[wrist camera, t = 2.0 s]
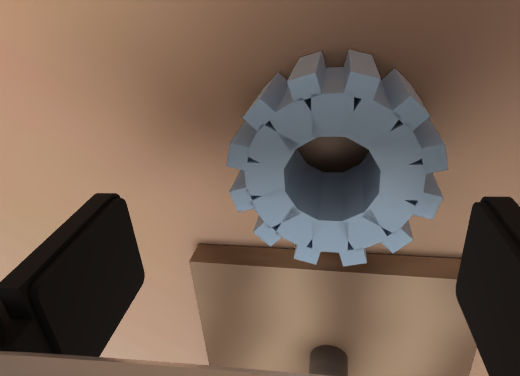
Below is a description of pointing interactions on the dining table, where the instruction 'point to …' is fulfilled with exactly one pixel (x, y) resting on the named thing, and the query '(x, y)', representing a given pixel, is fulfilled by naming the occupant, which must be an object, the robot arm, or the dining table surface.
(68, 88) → the dining table surface
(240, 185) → the blue gear
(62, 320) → the robot arm
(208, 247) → the gear board
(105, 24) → the dining table surface
